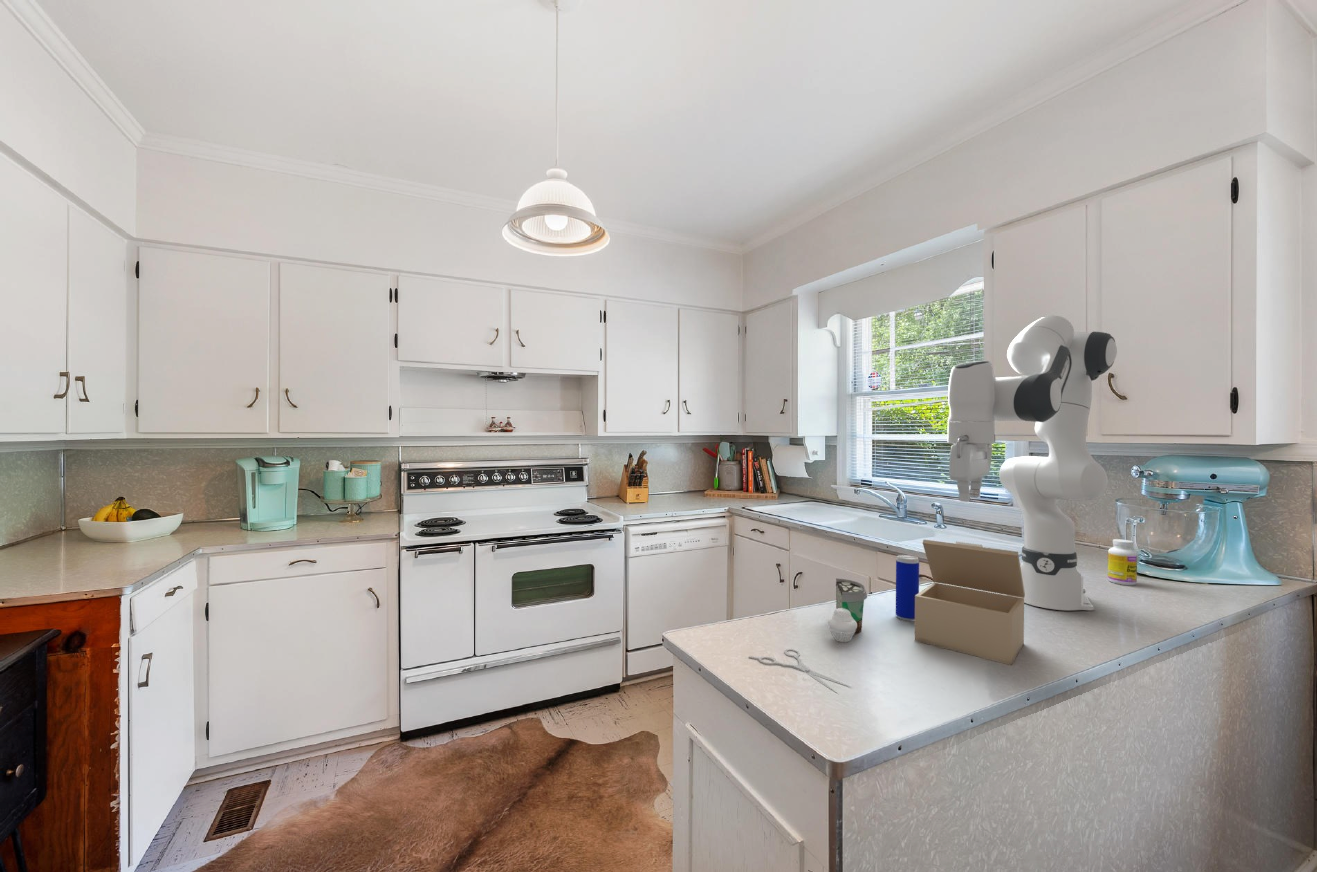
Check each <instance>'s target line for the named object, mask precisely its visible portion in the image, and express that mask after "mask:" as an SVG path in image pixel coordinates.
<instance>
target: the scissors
mask: <svg viewBox="0 0 1317 872" xmlns="http://www.w3.org/2000/svg"><path fill="white" fill-rule="evenodd" d="M783 652H784V654H785V655H786V657H791V658H794V659H795V660H797V662H798V665H797V664H790V663H789V664H788V663H784V662H783V663H782V662H779V661H778V660H776V658H774V657H772V656H771V657H770V656H760V657H759V656H758V657H757V656H752V655H749V656H748V659H752V660H757V661H758V662H759V663H760V664H763V665H765V666H766V665H768V666H775V665H777V666H781V667H783V668H786V667H788V668H793V669H795V670H798V671H801V672H804V673H805V674H807V675H808V676H810V677H812V678H813V679H814V680H815V681H816V682H818V683H820V684H822V685H823V686H824V687H826V688H828V689H829V690H830V691H832V692H834V693H835V694H838V695H839V693H838V692H837V691H836V690H835V689H833V688H832V687H831V686H830V685H829V684H827V683H826V682H825V681H823V680H822V679H825V680H827V681H830V682H833V683H837V684H841V685H843V686H846V687H849V688H853V687H852V686H849V685H847V684H845V683H843V682H841V681H838V680H836V679H834V678H831V677H829V676H826V675H824V674H821V673H819V672H816V671H814V670H812V669H810V667H808V666H807V665H805V664H804V663H802V659H801V658H800V656H801V654H800V653H801V652H800V651H798V650H797V649H794V648H793V649H792V648H786V649H784V651H783ZM789 652H795V653H797V654H790V653H789ZM765 659H766V660H770V661H771V662H770V661H769V662H767V661H765ZM821 678H822V679H821Z"/></svg>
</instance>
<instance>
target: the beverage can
mask: <svg viewBox="0 0 1317 872" xmlns="http://www.w3.org/2000/svg"><path fill="white" fill-rule="evenodd" d="M918 593H920V560H919V558H918V557H917V556H915V555H911V554H910V555H909V554H899V555H897V557H896V559H895V616H896V617H897V618H898V619H899V618H900V619H899V620H902V621H906V620H908V621H909V622H915V621H914V620H915V595H917V594H918Z"/></svg>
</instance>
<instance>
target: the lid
mask: <svg viewBox="0 0 1317 872" xmlns="http://www.w3.org/2000/svg"><path fill="white" fill-rule="evenodd" d="M922 545H923V546H922V547H923V549H924V553H925V556H926V559H927V563H928V567H929V570H930V573H931V578H932V580H933V583H934V582H935V583H940V584H946V585H951V586H957V587H963V588H968V589H974V590H979V591H985V592H991V593H996V594H1002V595H1007V596H1008V595H1010V596H1016V597H1021V598H1024V597H1025V592H1024V586H1023V579H1022V573H1021V567H1020V564H1021V563H1020V557H1019V556H1020V554H1019V552H1018V551H1014V550H1007V549H999V548H991V547H983V545H982V544H978V543H977V544H976V543H969V542H963V541H955V542H953V543H952V542H945V541H937V540H931V539H930V540H929V539H923V540H922Z"/></svg>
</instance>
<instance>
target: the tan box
mask: <svg viewBox="0 0 1317 872" xmlns="http://www.w3.org/2000/svg"><path fill="white" fill-rule="evenodd" d="M1024 635H1025V603H1024V598H1019V597H1013V596H1008V595H1004V594H999V593H993V592H988V591H982V590H976V589H971V588H965V587H959V586H954V585H948V584H943V583H937V582H934V581H933V582H932V583H931V584H929V585H928V586H926V587H925V588H924V589H923V590H921V591H919V593H918V594H917V595H915V621H914V642H917V643H921V644H926V645H929V646H934V647H937V648H941V649H942V648H943V649H946V650H950V651H953V652H957V651H959V652H958V653H961V652H962V653H961V654H965V653H966V654H965V655H969V654H970V655H969V656H974V657H977V658H982V659H986V660H990V661H994V662H996V663H997V662H998V663H1002V664H1006V665H1010V666H1012V665H1013V663H1014V661H1015V660H1016V659H1017V656H1018V655H1019V653H1020V651H1021V649H1022V648H1023V646H1024V645H1025V644H1024V643H1025V641H1024V640H1025V636H1024Z"/></svg>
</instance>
